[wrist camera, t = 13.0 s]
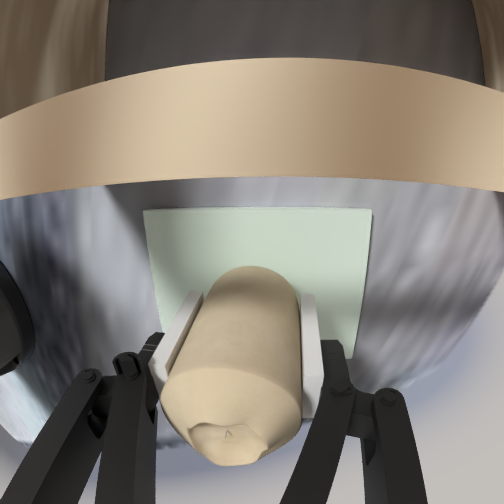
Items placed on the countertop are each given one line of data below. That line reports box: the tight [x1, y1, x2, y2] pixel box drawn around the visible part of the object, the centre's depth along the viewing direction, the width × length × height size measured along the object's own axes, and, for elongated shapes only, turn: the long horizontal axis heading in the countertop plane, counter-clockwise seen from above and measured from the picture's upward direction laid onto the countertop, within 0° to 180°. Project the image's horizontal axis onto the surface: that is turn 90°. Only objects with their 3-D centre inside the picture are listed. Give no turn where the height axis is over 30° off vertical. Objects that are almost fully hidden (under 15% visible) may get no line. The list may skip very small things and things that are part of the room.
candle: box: [160, 266, 302, 466], centre depth 14 cm, size 6×6×10 cm
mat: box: [143, 207, 372, 359], centre depth 20 cm, size 14×11×1 cm
